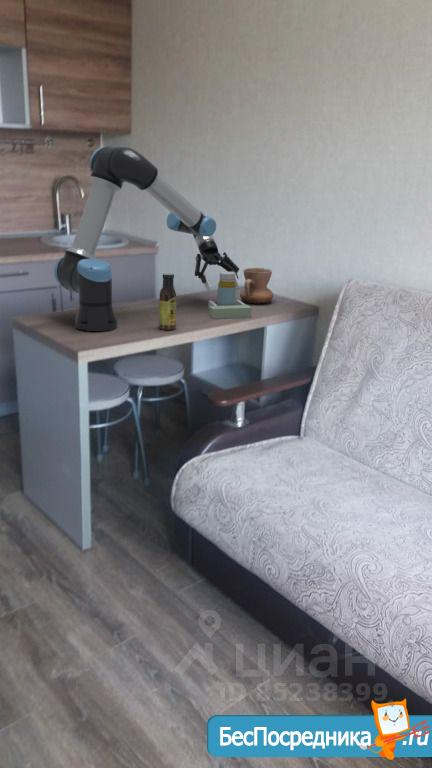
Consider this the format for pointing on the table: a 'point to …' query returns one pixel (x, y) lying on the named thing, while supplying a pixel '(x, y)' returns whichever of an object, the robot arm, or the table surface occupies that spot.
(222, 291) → the bottle
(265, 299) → the ceramic jug
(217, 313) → the green-backed grey tray
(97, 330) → the robot arm
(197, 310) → the table surface
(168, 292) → the sauce bottle
